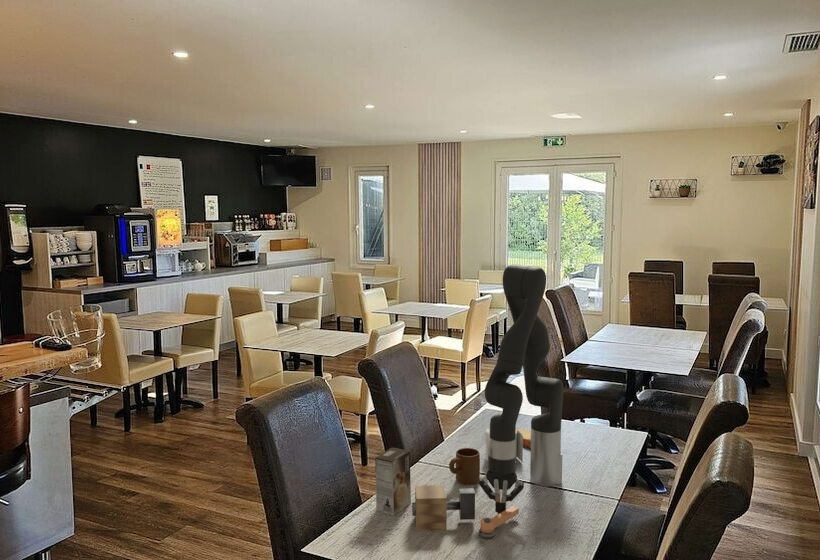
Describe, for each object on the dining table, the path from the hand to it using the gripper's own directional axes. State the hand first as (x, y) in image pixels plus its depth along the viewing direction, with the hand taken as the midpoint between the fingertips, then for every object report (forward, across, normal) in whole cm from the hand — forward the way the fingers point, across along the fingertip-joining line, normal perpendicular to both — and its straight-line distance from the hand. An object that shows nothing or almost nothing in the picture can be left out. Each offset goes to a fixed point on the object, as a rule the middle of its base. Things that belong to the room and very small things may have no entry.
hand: (500, 513), depth 175 cm
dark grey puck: (+2, -3, -10) cm, 10 cm away
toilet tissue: (+1, -3, +42) cm, 42 cm away
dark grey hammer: (0, -15, -6) cm, 16 cm away
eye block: (+2, -18, -7) cm, 20 cm away
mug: (+2, -14, +20) cm, 25 cm away
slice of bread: (+1, +3, +61) cm, 61 cm away
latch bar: (0, 0, -5) cm, 5 cm away
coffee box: (+2, -31, 0) cm, 31 cm away
